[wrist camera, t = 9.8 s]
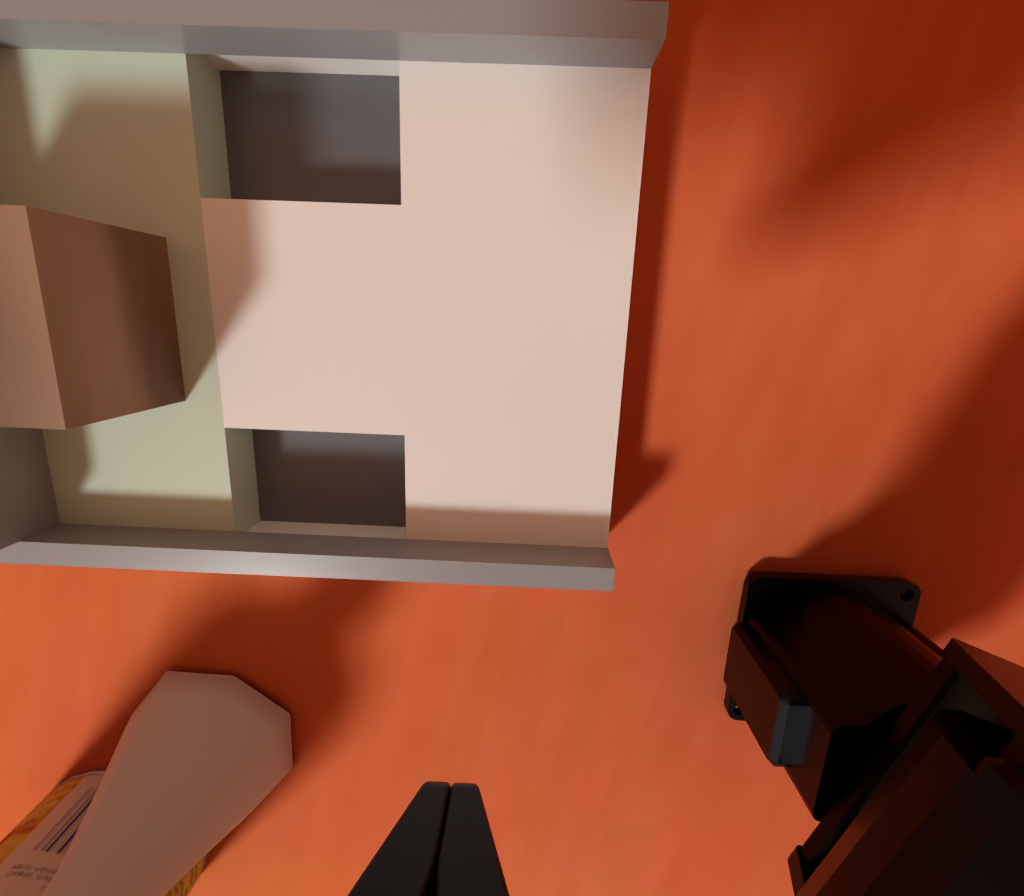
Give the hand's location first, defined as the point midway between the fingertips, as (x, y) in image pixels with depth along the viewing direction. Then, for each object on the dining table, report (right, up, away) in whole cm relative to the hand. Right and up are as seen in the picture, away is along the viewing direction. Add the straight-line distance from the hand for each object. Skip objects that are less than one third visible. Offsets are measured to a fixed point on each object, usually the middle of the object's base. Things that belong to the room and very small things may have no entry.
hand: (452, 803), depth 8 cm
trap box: (-5, +10, +10) cm, 15 cm away
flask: (-12, -7, +15) cm, 20 cm away
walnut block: (-12, +10, +8) cm, 18 cm away
